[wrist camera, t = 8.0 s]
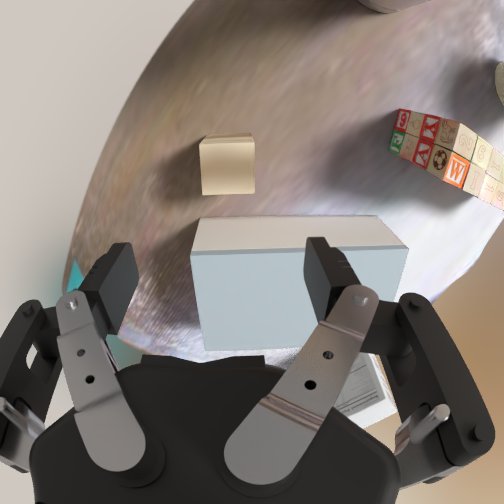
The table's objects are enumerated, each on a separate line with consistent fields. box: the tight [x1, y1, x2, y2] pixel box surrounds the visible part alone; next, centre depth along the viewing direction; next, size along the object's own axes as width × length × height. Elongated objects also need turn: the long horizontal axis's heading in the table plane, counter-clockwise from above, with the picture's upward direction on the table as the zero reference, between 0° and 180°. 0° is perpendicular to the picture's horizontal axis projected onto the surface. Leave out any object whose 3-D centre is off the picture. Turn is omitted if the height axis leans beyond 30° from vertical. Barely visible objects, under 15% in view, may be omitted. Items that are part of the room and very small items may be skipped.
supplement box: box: [334, 352, 397, 429], centre depth 43 cm, size 10×9×17 cm
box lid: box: [190, 245, 409, 351], centre depth 32 cm, size 14×24×1 cm, turn 90°
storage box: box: [192, 215, 405, 251], centre depth 36 cm, size 14×24×8 cm, turn 90°
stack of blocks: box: [388, 109, 504, 211], centre depth 26 cm, size 21×6×12 cm, turn 79°
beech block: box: [199, 133, 255, 195], centre depth 28 cm, size 5×5×7 cm
